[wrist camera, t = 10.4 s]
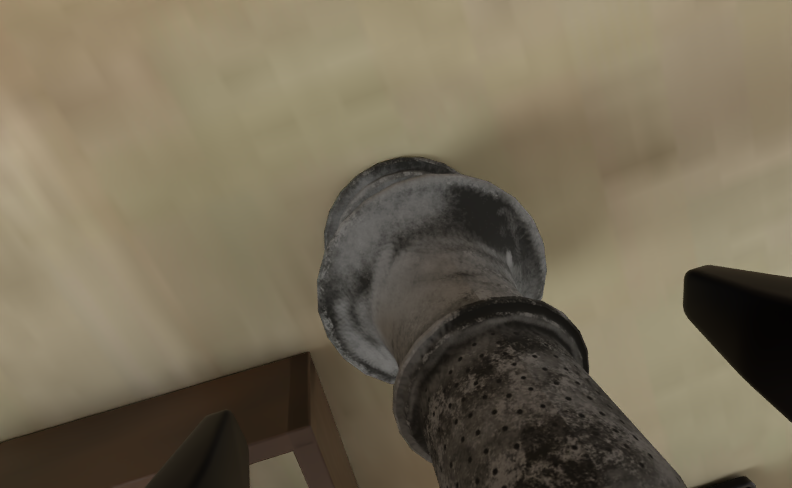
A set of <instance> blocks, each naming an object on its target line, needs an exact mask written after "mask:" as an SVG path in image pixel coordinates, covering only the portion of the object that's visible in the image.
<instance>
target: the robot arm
mask: <svg viewBox="0 0 792 488" xmlns="http://www.w3.org/2000/svg"><path fill="white" fill-rule="evenodd" d="M683 308H684V312H685V314H686V316H687V318H688V319H689V320H690V321H691V322H692V323H693V324H694V326H695V327H696V328H697V329H698V330H699V331H700V332H701V333H702V334H703V335H704V336H705V337H706V339H707V340H708V341H709V342H710V343H711V344H712V345H713V346H714V347H715V348H716V349H717V351H718V352H719V353H720V354H721V355H722V356H723V357H724V358H725V359H726V360H727V361H728V363H729V364H730V365H731V366H732V367H733V368H734V369H735V370H736V371H737V372H738V373H739V374H740V375H741V376H742V377H743V378H744V379H745V380H746V381H747V382H748V383H749V384H750V385H751V386H752V387H753V388H754V389H755V390H756V391H757V392H759V393H760V394H761V395H762V396H763V397H764V398H765V399H766V400H767V401H768V402H770V403H771V404H772V405H773V406H774V407H775V408H776V409H777V410H778V411H779V412H781V413H782V414H783V415H784V416H785V417H786V418H787V419H788V420H789V421H790V422H792V277H785V276H778V275H772V274H765V273H759V272H752V271H746V270H739V269H732V268H726V267H719V266H713V265H705V266H701V267H698V268H695V269H691V270H689V271H688V272H687V273H686V274H685V276H684V293H683ZM145 488H250V481H249V449H248V445H247V442H246V439H245V437H244V435H243V433H242V431H241V429H240V427H239V425H238V422H237V420H236V418H235V416H234V414H233V413H232V412H231V411H230V410H227V409H226V410H222V411H219V412H216V413H212V414H209V415H207V416H205V418H204V419H203V420H202V421H201V422H200V423H199V424H198V425H197V427H196V428H195V429H194V430H193V431H192V432H191V434H190V435H189V436H188V437H187V438H186V440H185V441H184V442H183V443H182V444H181V445H180V447H179V448H178V449H177V450H176V451H175V452H174V454H173V455H172V456H171V457H170V458H169V459H168V461H167V462H166V463H165V464H164V465H163V467H162V468H161V469H160V470H159V471H158V472H157V474H156V475H155V476H154V477H153V478H152V479H151V481H150V482H149V483H148V484H147V485H146V486H145ZM709 488H756V485H755V484H754V483H753V482H752V481H751V480H749V479H748V478H747V477H746V476H742V477H738V478H735V479H732V480H730V481H727V482H724V483H721V484H718V485H715V486H712V487H709Z"/></svg>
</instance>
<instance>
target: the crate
mask: <svg viewBox="0 0 792 488" xmlns="http://www.w3.org/2000/svg"><path fill="white" fill-rule="evenodd" d="M226 409H227V410H230V411H231V412H232V413H233V414H234V416H235V418H236V420H237V422H238V425H239V427H240V429H241V431H242V433H243V435H244V437H245V439H246V442H247V445H248V449H249V465H250V464H253V463H256V462H259V461H263V460H266V459H269V458H272V457H275V456H279V455H282V454H285V453H288V452H291V451H293V452H294V454H295V456H296V459H297V461H298V463H299V466H300V468H301V470H302V473H303V475H304V477H305V480H306V482H307V485H308V487H309V488H358V485H357V482H356V479H355V476H354V474H353V471H352V468H351V465H350V463H349V460H348V457H347V454H346V452H345V449H344V446H343V443H342V441H341V438H340V435H339V432H338V430H337V427H336V424H335V421H334V419H333V416H332V413H331V410H330V408H329V405H328V402H327V399H326V396H325V394H324V391H323V388H322V385H321V383H320V380H319V377H318V374H317V372H316V369H315V366H314V363H313V361H312V358H311V355H310V353H309V352H307V353H303V354H300V355H296V356H293V357H290V358H287V359H283V360H280V361H277V362H273V363H270V364H267V365H263V366H260V367H256V368H253V369H250V370H246V371H243V372H239V373H236V374H233V375H229V376H226V377H222V378H219V379H216V380H212V381H209V382H205V383H202V384H199V385H195V386H192V387H189V388H185V389H182V390H178V391H175V392H172V393H168V394H165V395H161V396H158V397H155V398H151V399H148V400H144V401H141V402H138V403H134V404H131V405H127V406H124V407H121V408H117V409H114V410H111V411H107V412H104V413H100V414H97V415H94V416H90V417H87V418H83V419H80V420H77V421H73V422H70V423H66V424H63V425H60V426H56V427H53V428H49V429H46V430H43V431H39V432H36V433H33V434H29V435H26V436H22V437H19V438H16V439H12V440H9V441H5V442H2V443H0V488H145V486H146V485H147V484H148V483H149V482H150V481H151V479H152V478H153V477H154V476H155V475H156V474H157V472H158V471H159V470H160V469H161V468H162V467H163V465H164V464H165V463H166V462H167V461H168V459H169V458H170V457H171V456H172V455H173V454H174V452H175V451H176V450H177V449H178V448H179V447H180V445H181V444H182V443H183V442H184V441H185V440H186V438H187V437H188V436H189V435H190V434H191V432H192V431H193V430H194V429H195V428H196V427H197V425H198V424H199V423H200V422H201V421H202V420H203V419H204V418H205V416H207V415H209V414H212V413H216V412H219V411H222V410H226Z"/></svg>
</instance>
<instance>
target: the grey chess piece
mask: <svg viewBox="0 0 792 488" xmlns="http://www.w3.org/2000/svg"><path fill="white" fill-rule="evenodd" d="M324 243H325V252H324V256H323V260H322V264H321V267H320V271H319V275H318V279H317V291H318V312H319V315H320V317H321V320H322V323H323V326H324V329H325V332H326V334H327V337H328V338H329V340H330V341H331V342H332V344H333V345H334V346H335V348H336V349H337V350H338V352H339V353H340V354H341V356H342V357H343V358H344V359H345V360H346V361H348V362H349V363H351V364H352V365H353V366H355V367H356V368H357V369H359V370H360V371H361V372H363V373H364V374H366V375H369V376H371V377H374V378H376V379H379V380H381V381H384V382H387V383H389V384H394V386H393V413H394V416H395V419H396V423H397V426H398V429H399V433H400V434H401V436H402V437H403V438H404V440H405V441H406V442H407V444H408V445H409V447H410V448H411V449H412V450H413V451H414V452H416V453H417V454H418V455H420V456H421V457H423V458H424V459H425V460H427V461H428V462H430V463H433V467H434V470H435V473H436V476H437V479H438V482H439V486H440V488H687V487H686V485H685V484H684V482H683V480H682V479H681V477H680V476H679V474H678V473H677V472H676V471H675V470H674V469H673V468H672V467H671V466H670V464H669V463H668V462H667V461H666V460H665V459H664V458H663V457H662V456H661V454H660V453H659V452H658V451H657V450H656V449H655V448H654V447H653V446H652V444H651V443H650V442H649V441H648V440H647V439H646V438H645V437H644V436H643V434H642V433H641V432H640V431H639V430H638V429H637V428H636V427H635V426H634V424H633V423H632V422H631V421H630V420H629V419H628V418H627V417H626V416H625V414H624V413H623V412H622V411H621V410H620V409H619V408H618V407H617V406H616V404H615V403H614V402H613V401H612V400H611V399H610V398H609V397H608V396H607V394H606V393H605V392H604V391H603V390H602V389H601V388H600V387H599V386H598V384H597V383H596V382H595V381H594V380H593V379H592V378H591V377H590V376H589V363H588V350H587V348H586V345H585V343H584V340H583V338H582V335H581V333H580V331H579V330H578V329H577V327H576V326H575V325H574V324H573V323H572V322H571V321H570V320H569V319H568V317H567V316H566V315H565V314H564V313H563V312H561V311H559V310H558V309H556V308H554V307H552V306H550V305H549V304H547V303H545V302H543V301H541V299H542V296H543V290H544V284H545V278H546V272H547V268H546V259H545V250H544V243H543V241H542V238H541V236H540V234H539V231H538V229H537V227H536V224H535V222H534V220H533V218H532V217H531V216H530V215H529V213H528V212H527V211H526V210H525V209H524V208H523V206H522V205H521V204H520V203H519V202H518V201H517V199H516V198H514V197H513V196H511V195H510V194H508V193H506V192H505V191H503V190H502V189H500V188H498V187H497V186H495V185H494V184H492V183H490V182H489V181H485V180H481V179H478V178H474V177H470V176H466V175H463V174H460V173H458V172H457V171H455V170H454V169H452V168H450V167H449V166H447V165H445V164H444V163H441V162H437V161H434V160H430V159H426V158H423V157H399V158H396V159H392V160H389V161H385V162H381V163H378V164H376V165H374V166H372V167H371V168H369V169H367V170H365V171H364V172H362V173H360V174H359V175H357V176H356V177H355V178H354V179H353V180H352V181H351V182H350V183H349V184H348V185H347V186H346V187H345V188H344V189H343V190H342V191H341V192H340V194H339V196H338V197H337V199H336V201H335V203H334V204H333V206H332V208H331V209H330V211H329V215H328V219H327V223H326V227H325V231H324Z"/></svg>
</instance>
